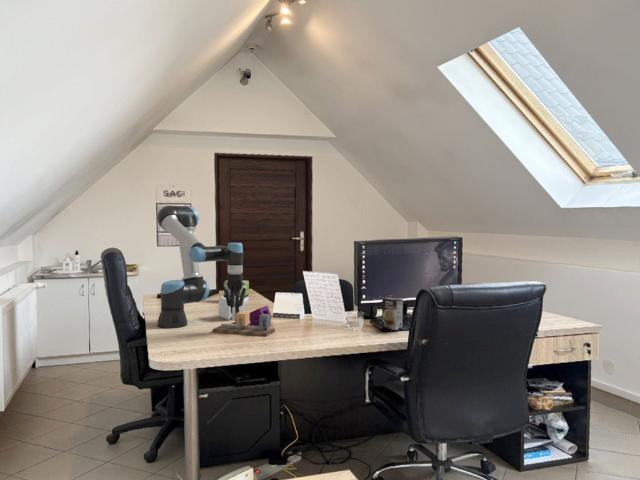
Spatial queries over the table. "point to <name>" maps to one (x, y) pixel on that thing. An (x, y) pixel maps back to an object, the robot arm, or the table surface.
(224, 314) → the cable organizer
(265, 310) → the mounting bracket
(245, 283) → the tea box
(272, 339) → the table surface
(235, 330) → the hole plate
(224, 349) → the table surface
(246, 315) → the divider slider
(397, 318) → the coffee box
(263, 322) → the rail and fixed leg
